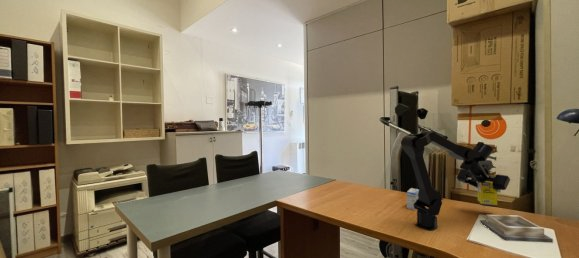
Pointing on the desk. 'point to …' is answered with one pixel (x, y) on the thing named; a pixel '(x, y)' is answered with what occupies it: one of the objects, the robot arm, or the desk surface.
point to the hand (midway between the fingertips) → (488, 189)
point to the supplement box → (487, 194)
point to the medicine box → (412, 198)
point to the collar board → (515, 228)
